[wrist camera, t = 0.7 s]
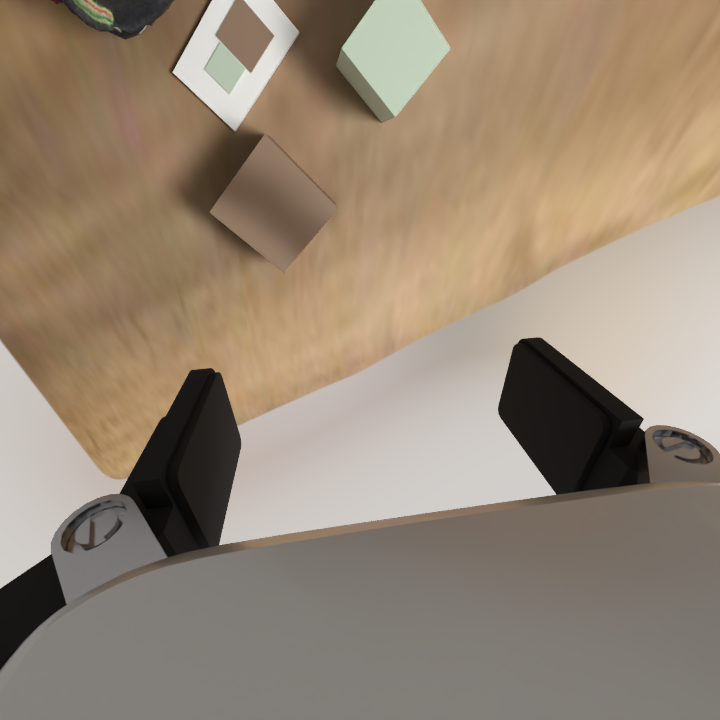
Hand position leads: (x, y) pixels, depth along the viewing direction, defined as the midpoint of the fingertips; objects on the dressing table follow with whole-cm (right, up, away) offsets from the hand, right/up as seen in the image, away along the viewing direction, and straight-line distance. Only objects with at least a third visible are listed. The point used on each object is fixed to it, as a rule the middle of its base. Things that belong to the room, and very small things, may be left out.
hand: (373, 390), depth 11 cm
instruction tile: (-9, +23, +13) cm, 28 cm away
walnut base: (-8, +15, +19) cm, 25 cm away
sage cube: (+1, +23, +14) cm, 28 cm away
